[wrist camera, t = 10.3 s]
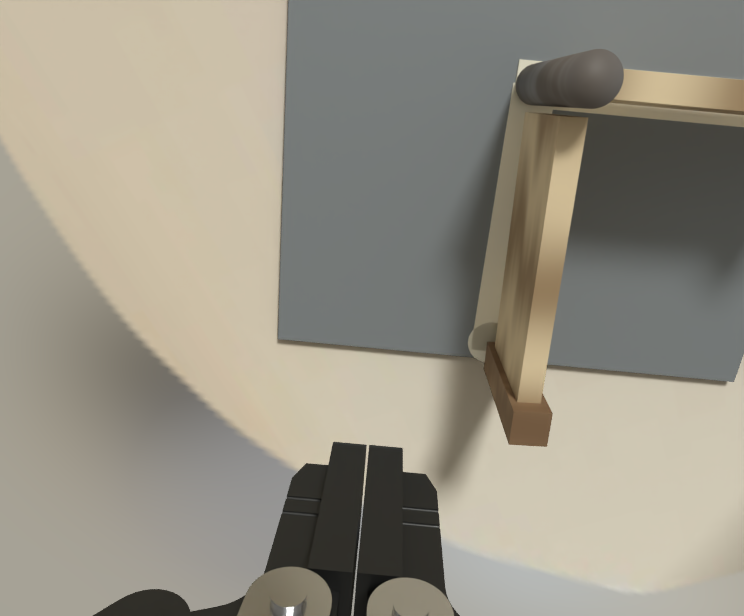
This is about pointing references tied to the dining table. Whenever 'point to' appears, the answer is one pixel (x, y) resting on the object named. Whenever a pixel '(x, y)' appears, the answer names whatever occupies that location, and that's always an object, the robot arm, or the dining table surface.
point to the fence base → (623, 86)
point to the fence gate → (534, 273)
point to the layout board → (508, 181)
